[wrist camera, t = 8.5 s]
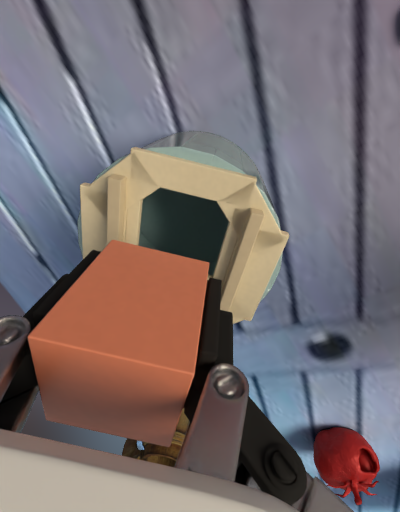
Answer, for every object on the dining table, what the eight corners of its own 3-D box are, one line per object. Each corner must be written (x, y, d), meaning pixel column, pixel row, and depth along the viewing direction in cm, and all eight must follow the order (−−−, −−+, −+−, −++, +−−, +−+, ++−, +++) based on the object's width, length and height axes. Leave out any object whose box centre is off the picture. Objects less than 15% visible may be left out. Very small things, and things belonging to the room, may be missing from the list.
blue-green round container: (132, 113, 23) (71, 119, 14) (288, 152, 23) (321, 181, 14) (124, 249, 30) (81, 306, 22) (241, 277, 30) (245, 345, 22)
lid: (82, 133, 14) (67, 136, 13) (307, 189, 15) (314, 197, 13) (88, 303, 21) (78, 315, 20) (240, 339, 21) (240, 354, 20)
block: (109, 310, 13) (45, 420, 8) (112, 238, 11) (25, 336, 6) (190, 329, 13) (169, 448, 8) (209, 261, 11) (194, 375, 6)
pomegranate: (313, 450, 49) (328, 516, 41) (304, 423, 45) (319, 492, 37) (369, 448, 47) (397, 518, 39) (366, 419, 42) (396, 492, 34)
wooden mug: (122, 369, 43) (59, 518, 27) (200, 367, 40) (180, 531, 25) (138, 399, 47) (92, 542, 32) (209, 400, 44) (197, 556, 29)
